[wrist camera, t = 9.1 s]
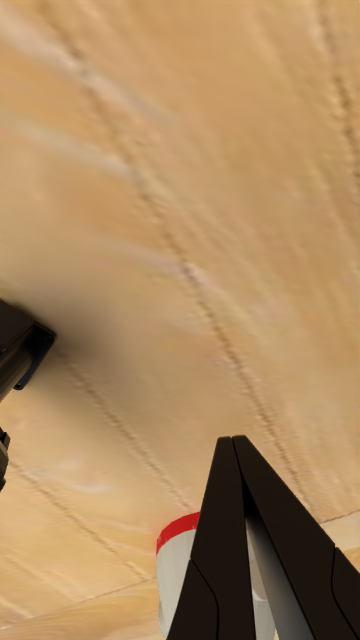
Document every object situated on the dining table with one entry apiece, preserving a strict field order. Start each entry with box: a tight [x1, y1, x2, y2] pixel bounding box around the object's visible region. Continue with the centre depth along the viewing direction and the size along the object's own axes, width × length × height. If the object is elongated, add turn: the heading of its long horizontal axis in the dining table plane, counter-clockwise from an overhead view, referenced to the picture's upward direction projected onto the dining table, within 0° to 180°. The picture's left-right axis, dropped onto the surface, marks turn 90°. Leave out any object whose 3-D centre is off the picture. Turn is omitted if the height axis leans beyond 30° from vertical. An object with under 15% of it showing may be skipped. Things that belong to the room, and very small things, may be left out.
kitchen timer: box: [156, 512, 276, 640], centre depth 27 cm, size 14×14×15 cm
